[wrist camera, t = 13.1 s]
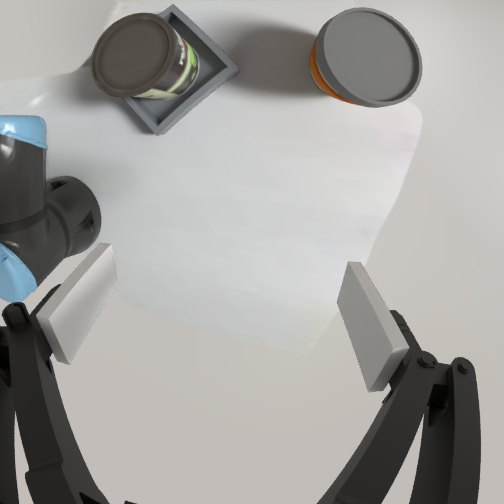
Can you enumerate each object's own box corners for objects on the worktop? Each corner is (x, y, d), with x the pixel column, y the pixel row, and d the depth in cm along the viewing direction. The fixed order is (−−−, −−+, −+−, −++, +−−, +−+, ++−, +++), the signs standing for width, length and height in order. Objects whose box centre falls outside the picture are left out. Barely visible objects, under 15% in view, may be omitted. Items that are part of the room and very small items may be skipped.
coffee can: (185, 28, 32) (158, -3, 19) (210, 82, 36) (190, 68, 23) (126, 59, 33) (80, 45, 21) (149, 111, 38) (107, 114, 25)
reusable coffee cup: (281, 66, 36) (295, 42, 22) (336, 22, 31) (371, -11, 18) (338, 123, 40) (376, 130, 26) (388, 79, 36) (441, 72, 22)
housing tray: (164, 133, 40) (156, 135, 37) (110, 74, 35) (99, 72, 31) (239, 71, 36) (238, 67, 33) (179, 11, 31) (173, 3, 27)
